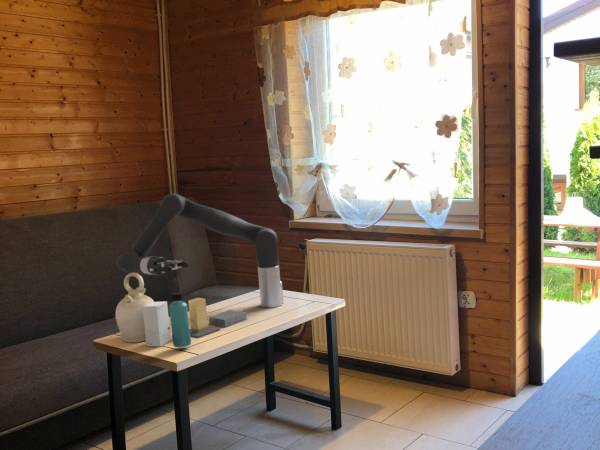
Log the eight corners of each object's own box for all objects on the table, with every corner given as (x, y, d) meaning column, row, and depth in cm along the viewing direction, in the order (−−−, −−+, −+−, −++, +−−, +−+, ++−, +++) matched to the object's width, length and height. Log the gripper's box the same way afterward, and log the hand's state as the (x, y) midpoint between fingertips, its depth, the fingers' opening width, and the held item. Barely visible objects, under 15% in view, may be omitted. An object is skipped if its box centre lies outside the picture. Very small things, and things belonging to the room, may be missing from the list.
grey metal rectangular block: (230, 317, 264) (230, 309, 264) (246, 319, 258) (246, 312, 258) (209, 324, 255) (208, 317, 255) (225, 327, 249) (224, 319, 249)
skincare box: (160, 347, 229) (156, 306, 228) (145, 346, 231) (141, 306, 229) (171, 340, 237) (168, 300, 235) (157, 339, 239) (153, 300, 237)
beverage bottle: (195, 347, 226) (190, 291, 224) (180, 352, 221) (174, 295, 219) (184, 344, 231) (179, 289, 228) (169, 349, 226) (163, 293, 223)
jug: (138, 330, 254) (132, 267, 251) (168, 333, 246) (162, 269, 243) (109, 341, 241) (102, 276, 238) (139, 345, 233) (132, 277, 230)
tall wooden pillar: (200, 328, 248) (198, 297, 247) (208, 329, 246) (205, 298, 245) (191, 331, 245) (188, 300, 243) (198, 332, 242) (195, 301, 241)
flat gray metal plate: (200, 326, 253) (200, 325, 253) (220, 330, 246) (220, 328, 246) (179, 334, 245) (178, 332, 245) (198, 337, 238) (198, 336, 238)
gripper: (138, 259, 258) (164, 261, 248) (166, 253, 269) (192, 254, 259) (140, 278, 259) (166, 280, 249) (168, 270, 270) (194, 272, 260)
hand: (179, 267), depth 254 cm, fingers open, 8 cm apart
